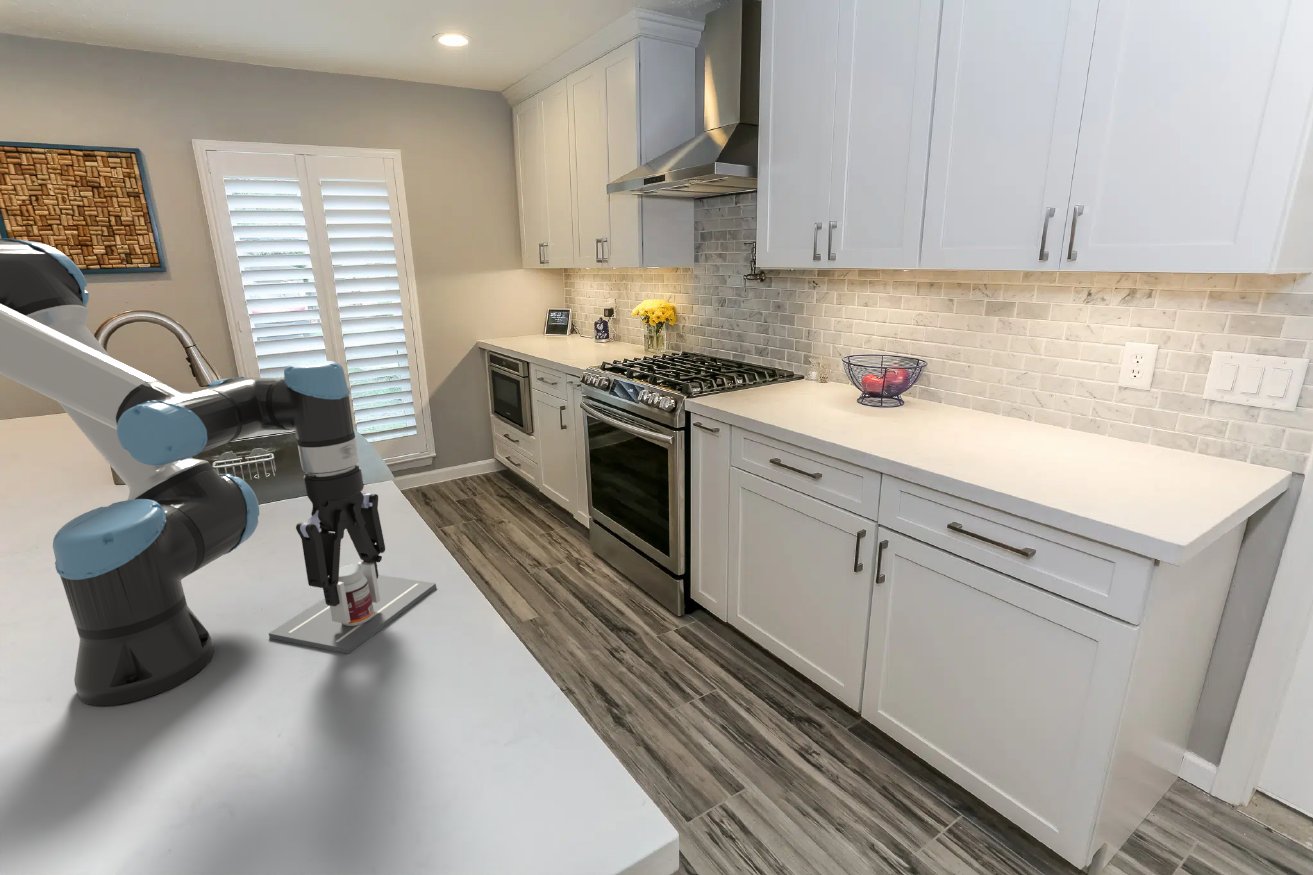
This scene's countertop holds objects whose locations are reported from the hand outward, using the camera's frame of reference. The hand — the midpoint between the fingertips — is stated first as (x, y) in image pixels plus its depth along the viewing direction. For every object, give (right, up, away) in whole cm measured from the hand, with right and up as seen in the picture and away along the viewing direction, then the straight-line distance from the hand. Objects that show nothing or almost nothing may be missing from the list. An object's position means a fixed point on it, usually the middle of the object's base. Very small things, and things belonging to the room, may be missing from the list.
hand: (357, 610), depth 99 cm
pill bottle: (0, -2, 0) cm, 2 cm away
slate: (-2, -1, +4) cm, 5 cm away
